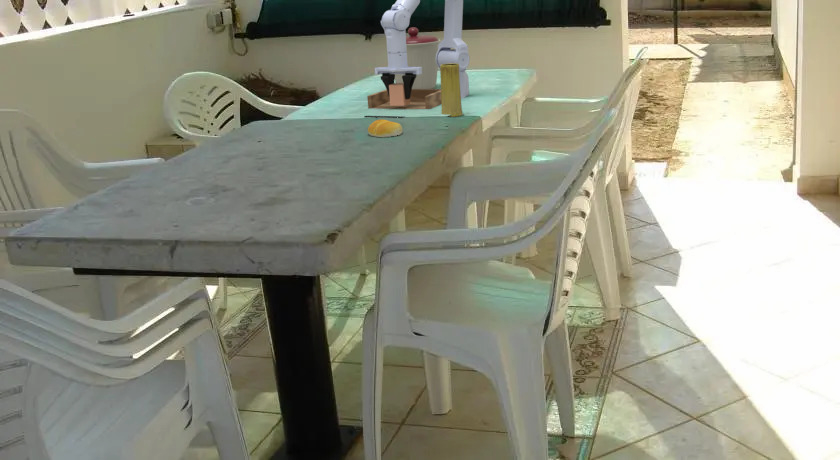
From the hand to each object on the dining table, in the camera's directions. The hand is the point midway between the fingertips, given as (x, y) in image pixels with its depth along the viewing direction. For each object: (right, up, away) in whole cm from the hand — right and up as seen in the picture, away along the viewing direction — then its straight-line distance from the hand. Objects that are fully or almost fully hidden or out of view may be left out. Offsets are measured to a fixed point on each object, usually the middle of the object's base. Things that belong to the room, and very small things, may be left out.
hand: (399, 98), depth 262 cm
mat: (-3, -5, -5) cm, 8 cm away
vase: (+15, -7, -12) cm, 20 cm away
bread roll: (-3, -15, -34) cm, 37 cm away
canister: (+5, +8, +39) cm, 40 cm away
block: (0, -2, +1) cm, 2 cm away
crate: (+2, -2, +6) cm, 6 cm away
